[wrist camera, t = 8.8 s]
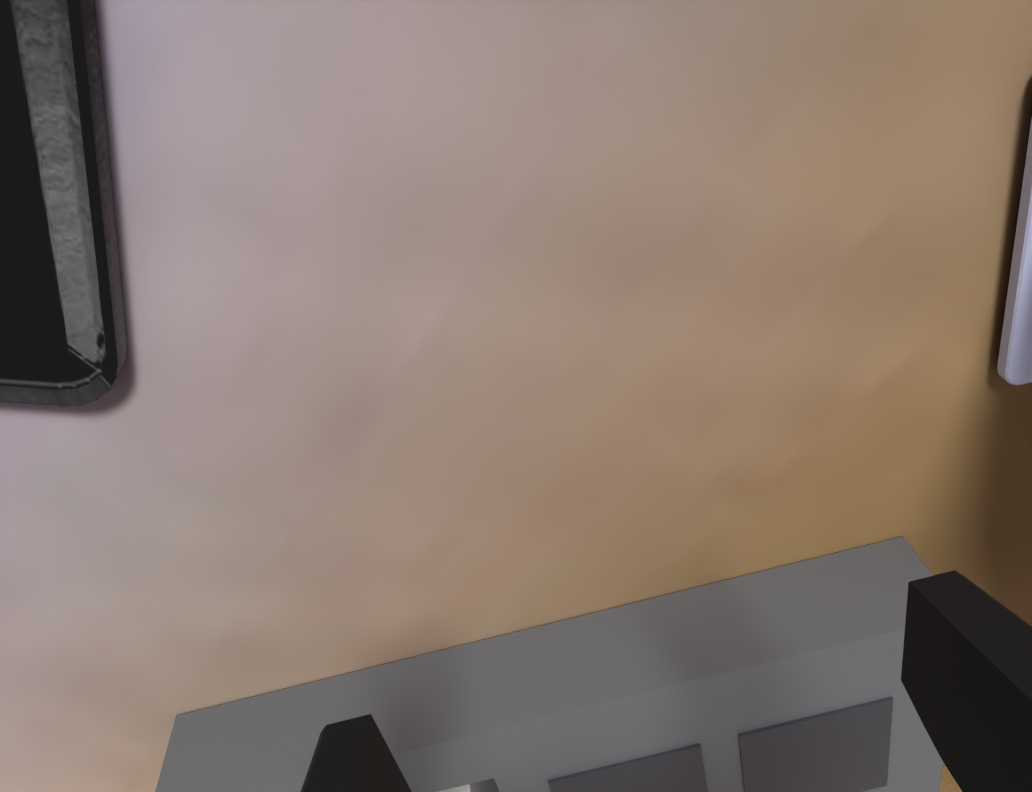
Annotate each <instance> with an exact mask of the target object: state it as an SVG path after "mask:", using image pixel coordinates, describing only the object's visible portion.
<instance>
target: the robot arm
mask: <svg viewBox="0 0 1032 792" xmlns="http://www.w3.org/2000/svg"><path fill="white" fill-rule="evenodd" d="M997 369H998V374H999V375H1000V376H1001V377H1002V378H1003V379H1004V380H1005V381H1007V382H1008V383H1009V384H1012V385H1023V384H1027V383H1031V382H1032V118H1031V126H1030V133H1029V140H1028V147H1027V155H1026V162H1025V169H1024V176H1023V184H1022V191H1021V198H1020V205H1019V213H1018V220H1017V227H1016V235H1015V242H1014V249H1013V256H1012V264H1011V271H1010V278H1009V285H1008V293H1007V300H1006V307H1005V314H1004V322H1003V329H1002V336H1001V343H1000V351H999V358H998V365H997ZM901 681H902V683H903V685H904V687H905V689H906V691H907V693H908V695H909V697H910V699H911V701H912V703H913V705H914V707H915V709H916V711H917V713H918V715H919V717H920V719H921V721H922V723H923V725H924V727H925V729H926V731H927V733H928V735H929V736H930V738H931V740H932V742H933V744H934V746H935V748H936V750H937V752H938V754H939V755H940V757H941V759H942V760H943V762H944V763H945V765H946V767H947V768H948V770H949V771H950V773H951V774H952V776H953V778H954V779H955V781H956V782H957V784H958V785H959V787H960V788H961V790H962V791H963V792H1032V626H1030V625H1029V624H1027V623H1026V622H1025V621H1023V620H1022V619H1021V618H1019V617H1018V616H1017V615H1015V614H1014V613H1013V612H1011V611H1010V610H1009V609H1007V608H1006V607H1005V606H1003V605H1002V604H1001V603H999V602H998V601H997V600H995V599H994V598H993V597H991V596H990V595H988V594H987V593H986V592H984V591H983V590H982V589H980V588H979V587H978V586H976V585H975V584H974V583H972V582H971V581H970V580H968V579H967V578H966V577H964V576H963V575H962V574H960V573H958V572H957V571H955V570H954V571H950V572H946V573H942V574H938V575H934V576H930V577H926V578H922V579H918V580H914V581H910V582H909V583H908V595H907V608H906V621H905V634H904V646H903V659H902V672H901ZM301 792H412V791H411V789H410V787H409V785H408V784H407V782H406V780H405V778H404V776H403V774H402V772H401V770H400V768H399V766H398V765H397V763H396V761H395V759H394V757H393V755H392V753H391V751H390V749H389V747H388V746H387V744H386V742H385V740H384V738H383V736H382V734H381V732H380V730H379V728H378V727H377V725H376V723H375V721H374V719H373V717H372V715H371V714H369V715H364V716H360V717H356V718H352V719H348V720H344V721H340V722H336V723H332V724H328V725H326V726H325V727H324V729H323V730H322V731H321V733H320V736H319V739H318V742H317V745H316V748H315V751H314V754H313V757H312V760H311V763H310V766H309V769H308V772H307V775H306V778H305V781H304V783H303V786H302V789H301Z"/></svg>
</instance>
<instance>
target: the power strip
mask: <svg viewBox="0 0 1032 792" xmlns="http://www.w3.org/2000/svg"><path fill="white" fill-rule="evenodd" d="M930 576H933V574H932V573H931V572H930V570H929V569H928V568H927V567H926V565H925V564H924V563H923V561H922V560H921V559H920V558H919V556H918V555H917V554H916V552H915V551H914V550H913V548H912V547H911V546H910V545H909V543H908V542H907V541H906V539H905V538H904V537H903V536H902V537H898V538H894V539H890V540H886V541H882V542H878V543H874V544H870V545H866V546H862V547H858V548H854V549H849V550H845V551H841V552H837V553H833V554H829V555H825V556H821V557H817V558H813V559H809V560H805V561H801V562H797V563H793V564H789V565H785V566H781V567H776V568H772V569H768V570H764V571H760V572H756V573H752V574H748V575H744V576H740V577H736V578H732V579H728V580H724V581H720V582H716V583H712V584H708V585H703V586H699V587H695V588H691V589H687V590H683V591H679V592H675V593H671V594H667V595H663V596H659V597H655V598H651V599H647V600H643V601H639V602H635V603H631V604H626V605H622V606H618V607H614V608H610V609H606V610H602V611H598V612H594V613H590V614H586V615H582V616H578V617H574V618H570V619H566V620H562V621H558V622H553V623H549V624H545V625H541V626H537V627H533V628H529V629H525V630H521V631H517V632H513V633H509V634H505V635H501V636H497V637H493V638H489V639H485V640H480V641H476V642H472V643H468V644H464V645H460V646H456V647H452V648H448V649H444V650H440V651H436V652H432V653H428V654H424V655H420V656H416V657H412V658H407V659H403V660H399V661H395V662H391V663H387V664H383V665H379V666H375V667H371V668H367V669H363V670H359V671H355V672H351V673H347V674H343V675H339V676H334V677H330V678H326V679H322V680H318V681H314V682H310V683H306V684H302V685H298V686H294V687H290V688H286V689H282V690H278V691H274V692H270V693H266V694H262V695H257V696H253V697H249V698H245V699H241V700H237V701H233V702H229V703H225V704H221V705H217V706H213V707H209V708H205V709H201V710H197V711H193V712H189V713H184V714H180V715H176V718H175V722H174V725H173V729H172V733H171V736H170V740H169V744H168V747H167V751H166V755H165V758H164V762H163V766H162V769H161V773H160V777H159V780H158V784H157V788H156V791H155V792H301V789H302V786H303V783H304V781H305V778H306V775H307V772H308V769H309V766H310V763H311V760H312V757H313V754H314V751H315V748H316V745H317V742H318V739H319V736H320V733H321V731H322V730H323V729H324V727H325V726H326V725H328V724H332V723H336V722H340V721H344V720H348V719H352V718H356V717H360V716H364V715H369V714H371V715H372V717H373V719H374V721H375V723H376V725H377V727H378V728H379V730H380V732H381V734H382V736H383V738H384V740H385V742H386V744H387V746H388V747H389V749H390V751H391V753H392V755H393V757H394V759H395V761H396V763H397V765H398V766H399V768H400V770H401V772H402V774H403V776H404V778H405V780H406V782H407V784H408V785H409V787H410V789H411V791H412V792H439V791H443V790H447V789H451V788H455V787H459V786H463V785H467V784H472V783H476V782H480V781H484V780H488V779H492V778H494V780H495V782H496V785H497V787H498V790H499V792H939V790H940V782H941V775H942V768H943V760H942V759H941V757H940V755H939V754H938V752H937V750H936V748H935V746H934V744H933V742H932V740H931V738H930V736H929V735H928V733H927V731H926V729H925V727H924V725H923V723H922V721H921V719H920V717H919V715H918V713H917V711H916V709H915V707H914V705H913V703H912V701H911V699H910V697H909V695H908V693H907V691H906V689H905V687H904V685H903V683H902V681H901V672H902V659H903V646H904V634H905V621H906V608H907V595H908V583H909V582H910V581H914V580H918V579H922V578H926V577H930Z"/></svg>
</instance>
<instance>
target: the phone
mask: <svg viewBox="0 0 1032 792" xmlns="http://www.w3.org/2000/svg"><path fill="white" fill-rule="evenodd" d="M127 347H128V346H127V335H126V325H125V314H124V304H123V294H122V283H121V273H120V262H119V252H118V241H117V231H116V220H115V210H114V199H113V189H112V178H111V168H110V157H109V147H108V136H107V126H106V115H105V105H104V94H103V84H102V74H101V63H100V53H99V42H98V32H97V21H96V11H95V0H0V402H14V403H29V404H44V405H59V406H70V405H83V404H86V403H89V402H91V401H94V400H97V399H99V398H100V397H101V396H102V395H104V394H105V393H106V392H108V391H109V390H110V388H111V386H112V385H113V383H114V381H115V379H116V378H117V376H118V374H119V373H120V371H121V369H122V367H123V365H124V364H125V362H126V357H127Z"/></svg>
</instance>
